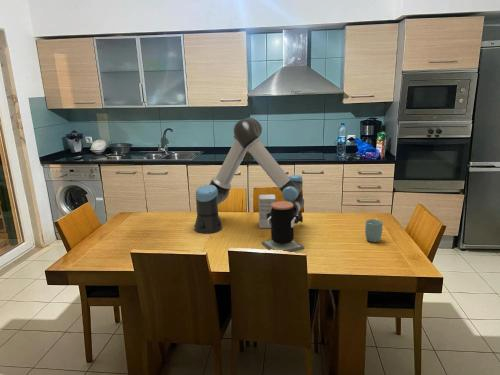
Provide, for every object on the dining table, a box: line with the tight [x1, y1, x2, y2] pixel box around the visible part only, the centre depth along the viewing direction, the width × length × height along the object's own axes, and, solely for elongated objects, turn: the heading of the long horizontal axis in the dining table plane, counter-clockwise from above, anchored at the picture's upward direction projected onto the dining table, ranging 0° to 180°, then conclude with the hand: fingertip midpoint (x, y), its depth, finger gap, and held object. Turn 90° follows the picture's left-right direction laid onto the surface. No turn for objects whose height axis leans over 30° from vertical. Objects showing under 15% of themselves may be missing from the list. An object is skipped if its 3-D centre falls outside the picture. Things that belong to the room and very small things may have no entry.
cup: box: [364, 218, 384, 243], centre depth 181 cm, size 8×8×10 cm
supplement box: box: [258, 194, 277, 229], centre depth 205 cm, size 10×9×17 cm
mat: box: [261, 239, 305, 253], centre depth 178 cm, size 15×15×1 cm
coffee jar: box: [270, 200, 295, 244], centre depth 175 cm, size 11×11×18 cm
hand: (280, 223), depth 171 cm, fingers closed on coffee jar, 11 cm apart
